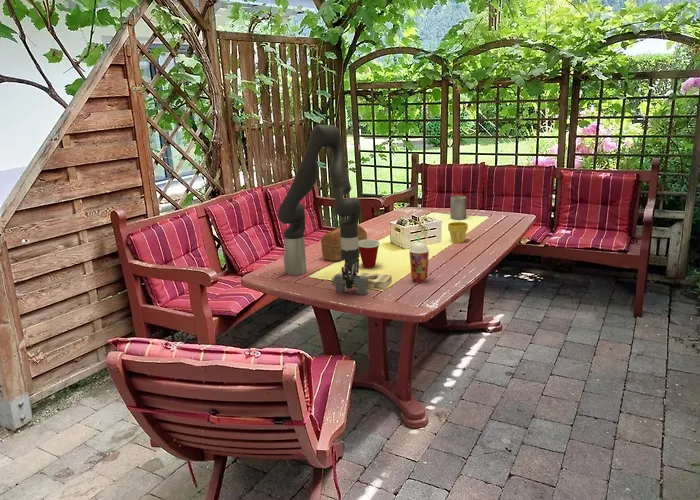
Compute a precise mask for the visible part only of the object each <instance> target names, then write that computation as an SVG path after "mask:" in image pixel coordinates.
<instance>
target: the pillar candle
mask: <svg viewBox="0 0 700 500" xmlns="http://www.w3.org/2000/svg"><path fill="white" fill-rule="evenodd" d="M450 219H451V220H453V221H457V220H458V221H463V220H466V219H467V196H465V195H452V196H450Z"/></svg>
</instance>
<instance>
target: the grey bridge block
mask: <svg viewBox="0 0 700 500" xmlns="http://www.w3.org/2000/svg"><path fill="white" fill-rule="evenodd" d="M333 276H334V283H336V285H335V292H336V293H340V294H342V293H343V294H344V292H346V286H345V284H346V280H343V275H342V274H337V273H336V274H335V275H333ZM349 276H350V275H349ZM351 281H352V285H358V287H357V294H358V295H362V296H363V295H364V296H366V295H367V294H368V288H367V284H368V277H367V276H356V275H352V278H351Z"/></svg>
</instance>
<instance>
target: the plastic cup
mask: <svg viewBox="0 0 700 500" xmlns="http://www.w3.org/2000/svg"><path fill="white" fill-rule="evenodd" d="M380 244H381V243H380V241H378V240H376V239H368V238H367V240H361V241H359V250H360V252H359V256H360V259H361V264H362V267H363V268H365V269H374V268H375V267H376V264H377V259H378V258H377V257H378V250H379V246H380ZM373 267H374V268H373Z"/></svg>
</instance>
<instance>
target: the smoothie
mask: <svg viewBox="0 0 700 500" xmlns="http://www.w3.org/2000/svg"><path fill="white" fill-rule="evenodd" d="M420 238H421V236H420V235H418V236H417V240H418V241H416V242H414V243H412V245H411V247H409V248H410V249H409V261H410V273H411V275H410V276H411V278H412V281H413V282H416V283H424V282H426V281H427V279H428V270H429V257H430V256H429V255H430V254H429V253H430V249H429V248H428V246H427V245H426V244H425V242H422V241H421V239H420Z"/></svg>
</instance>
